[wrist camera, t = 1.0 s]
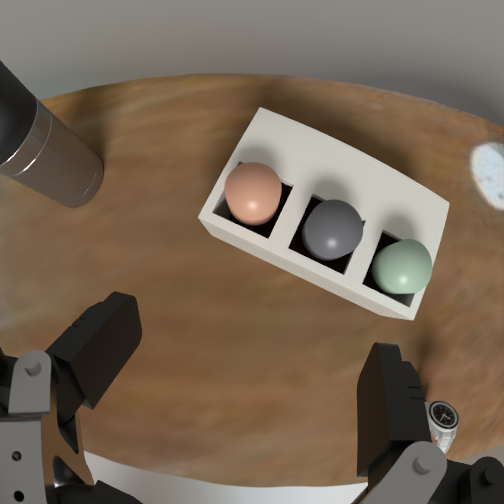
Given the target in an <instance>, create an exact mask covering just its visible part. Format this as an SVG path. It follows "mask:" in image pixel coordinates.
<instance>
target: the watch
mask: <svg viewBox="0 0 504 504" xmlns="http://www.w3.org/2000/svg"><path fill="white" fill-rule="evenodd" d="M424 402H425V407H426V412H427V417H428V423H429V428H430V430H431V431H432V434H433V437H434V439H437V438H438V439H437V442H436V445H437V446H438V447H439V448H440V449H441V450H442V451H443V452H444V454H445V453H446V452H447V451H448V449H449V447H450V445H451V443H452V440H453V438H454V437H455V434H456V429H457V426H458V424H459V416H458V413H457V411H456V410H455V409H454V408H453V407H452V406H451V405H450V404H448V403H446V402H444V401H434V402H427V401H424Z"/></svg>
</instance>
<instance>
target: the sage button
mask: <svg viewBox="0 0 504 504" xmlns="http://www.w3.org/2000/svg"><path fill="white" fill-rule="evenodd" d="M372 275H373V279H374V281H375V283H376V284H377V286H378V287H379V288H380V289H381V290H383V291H384V292H386V293H390V294H406V293H416V292H419V291H421V290H422V289H423V288H424V287H425V286H426V285H427V284H428V282H429V280H430V278H431V275H432V259H431V256H430V254H429V252H428V250H427V249H426V247H425V246H424V245H423V244H422V243H420V242H419V241H417V240H414V239H404V240H401V241H399V242H396V243H394V244H391V245H389V246H386V247H384V248H382V249H381V250H380V251H379V252H378V253H377V254H376V256H375V257H374V260H373V263H372Z"/></svg>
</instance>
